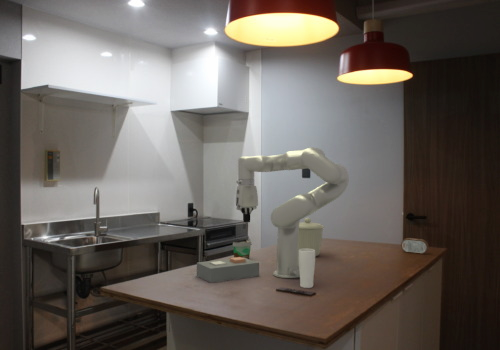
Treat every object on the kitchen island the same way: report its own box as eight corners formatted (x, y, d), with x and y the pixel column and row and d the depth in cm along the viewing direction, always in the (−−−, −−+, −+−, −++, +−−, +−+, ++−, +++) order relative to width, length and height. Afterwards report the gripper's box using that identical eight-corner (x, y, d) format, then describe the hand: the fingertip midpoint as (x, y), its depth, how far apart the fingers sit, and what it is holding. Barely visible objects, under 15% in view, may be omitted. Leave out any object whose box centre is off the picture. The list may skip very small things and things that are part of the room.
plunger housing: (259, 276, 199) (259, 262, 199) (210, 282, 186) (210, 268, 186) (243, 270, 211) (243, 257, 211) (196, 276, 198) (196, 262, 198)
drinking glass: (310, 289, 177) (311, 252, 176) (295, 287, 180) (295, 250, 180) (317, 286, 182) (318, 249, 182) (302, 283, 186) (302, 247, 186)
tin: (428, 254, 255) (428, 239, 254) (427, 255, 252) (427, 240, 252) (401, 251, 263) (401, 237, 262) (400, 252, 260) (400, 237, 260)
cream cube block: (225, 275, 195) (226, 263, 195) (215, 277, 193) (215, 264, 192) (220, 273, 200) (220, 261, 200) (210, 274, 197) (210, 262, 197)
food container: (241, 263, 227) (241, 243, 227) (232, 261, 230) (232, 242, 230) (256, 259, 236) (256, 240, 236) (247, 257, 240) (247, 239, 240)
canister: (330, 256, 245) (331, 218, 245) (305, 260, 235) (306, 220, 235) (308, 251, 260) (308, 215, 260) (284, 254, 250) (284, 217, 250)
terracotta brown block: (245, 271, 200) (245, 258, 200) (235, 272, 198) (235, 260, 198) (239, 268, 205) (239, 257, 205) (229, 270, 202) (229, 258, 202)
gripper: (237, 183, 201) (237, 224, 201) (263, 182, 210) (264, 221, 210) (228, 183, 207) (228, 222, 208) (254, 182, 216) (254, 220, 216)
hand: (246, 222), depth 209 cm, fingers closed
